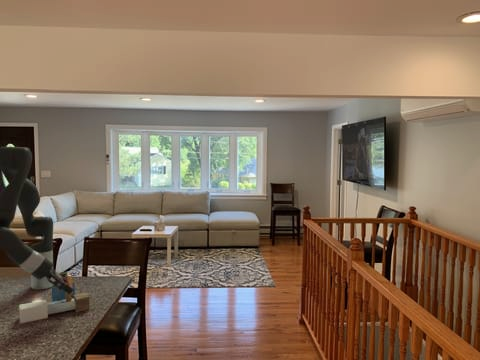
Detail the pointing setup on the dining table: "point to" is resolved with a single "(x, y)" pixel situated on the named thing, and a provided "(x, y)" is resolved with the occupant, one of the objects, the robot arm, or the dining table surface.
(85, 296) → the socket block
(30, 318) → the pale white block
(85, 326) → the dining table surface
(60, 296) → the perfume bottle
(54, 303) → the grey bar with post
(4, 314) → the dining table surface
